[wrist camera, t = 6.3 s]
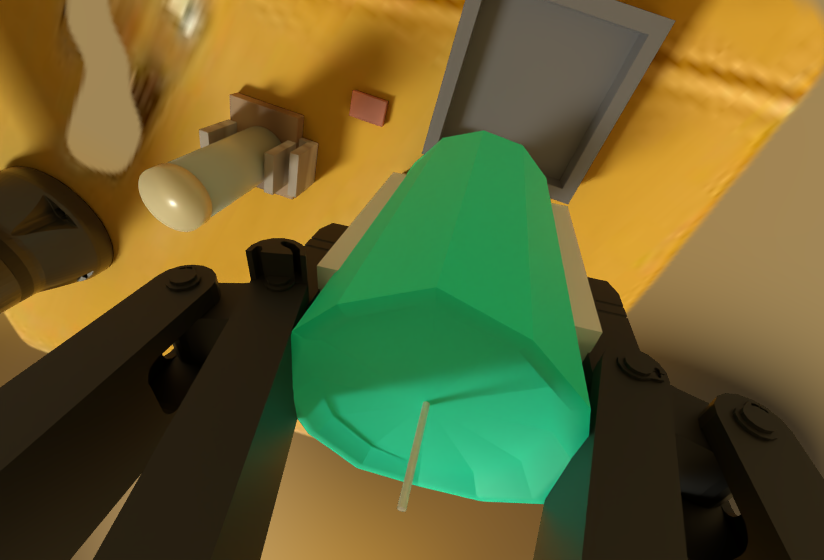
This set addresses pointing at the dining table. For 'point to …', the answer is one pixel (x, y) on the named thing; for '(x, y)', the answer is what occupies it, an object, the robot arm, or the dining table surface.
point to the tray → (546, 78)
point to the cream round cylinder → (206, 179)
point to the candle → (450, 334)
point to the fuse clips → (286, 138)
